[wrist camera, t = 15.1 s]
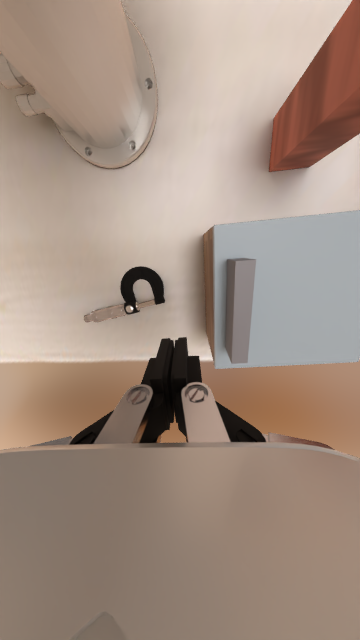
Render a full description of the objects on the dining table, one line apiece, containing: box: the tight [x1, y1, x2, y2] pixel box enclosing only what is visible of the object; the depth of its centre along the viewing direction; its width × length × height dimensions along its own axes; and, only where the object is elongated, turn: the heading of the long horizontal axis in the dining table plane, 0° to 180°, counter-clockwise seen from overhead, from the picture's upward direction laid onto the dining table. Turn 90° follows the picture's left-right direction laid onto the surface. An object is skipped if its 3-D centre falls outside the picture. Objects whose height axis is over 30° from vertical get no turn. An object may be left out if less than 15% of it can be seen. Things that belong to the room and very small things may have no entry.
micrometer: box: [84, 267, 165, 323], centre depth 28 cm, size 15×7×2 cm, turn 105°
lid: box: [213, 210, 360, 369], centre depth 17 cm, size 17×16×4 cm
